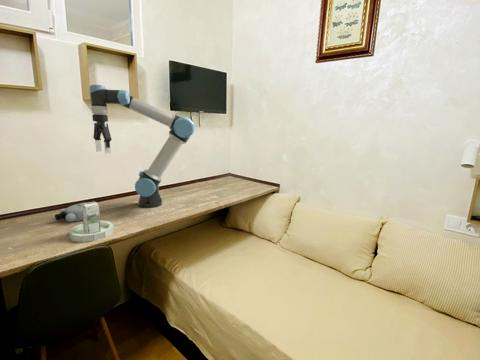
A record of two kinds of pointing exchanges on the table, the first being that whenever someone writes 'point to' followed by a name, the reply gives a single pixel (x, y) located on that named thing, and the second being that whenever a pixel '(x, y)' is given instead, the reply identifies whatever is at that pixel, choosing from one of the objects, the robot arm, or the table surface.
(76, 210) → the figurine
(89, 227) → the syrup box
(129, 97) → the robot arm
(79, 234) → the round bowl
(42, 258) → the table surface
